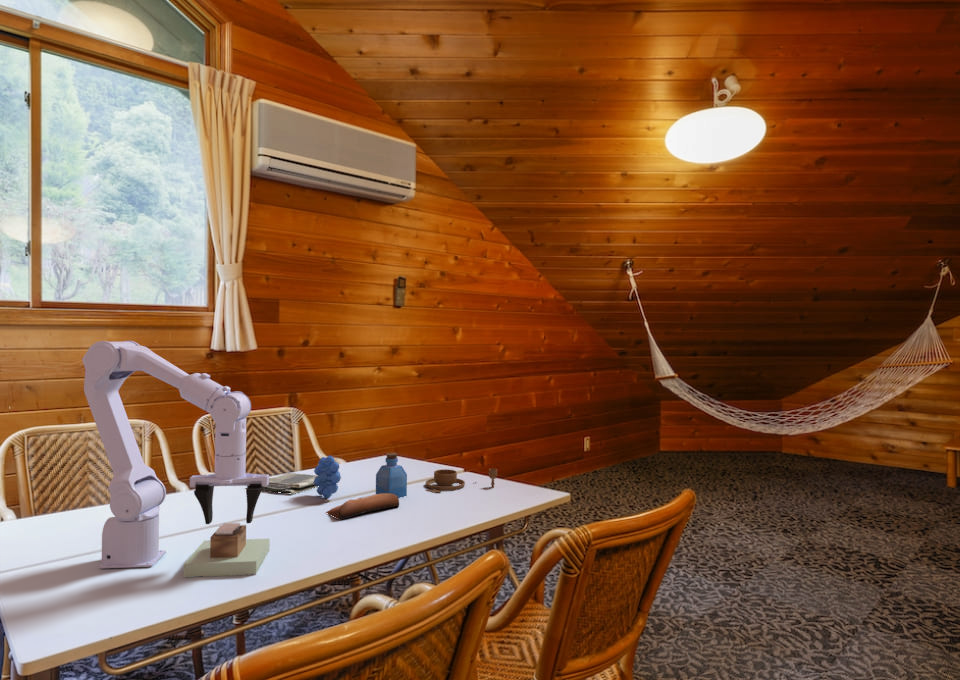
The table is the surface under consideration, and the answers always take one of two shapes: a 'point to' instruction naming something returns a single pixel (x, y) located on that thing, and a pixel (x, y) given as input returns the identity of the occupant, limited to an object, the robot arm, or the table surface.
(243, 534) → the brown box
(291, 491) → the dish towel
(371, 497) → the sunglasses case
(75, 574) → the table surface
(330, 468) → the grapes
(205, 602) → the table surface
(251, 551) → the stand
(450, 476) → the place setting
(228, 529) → the lid plate
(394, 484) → the perfume bottle
